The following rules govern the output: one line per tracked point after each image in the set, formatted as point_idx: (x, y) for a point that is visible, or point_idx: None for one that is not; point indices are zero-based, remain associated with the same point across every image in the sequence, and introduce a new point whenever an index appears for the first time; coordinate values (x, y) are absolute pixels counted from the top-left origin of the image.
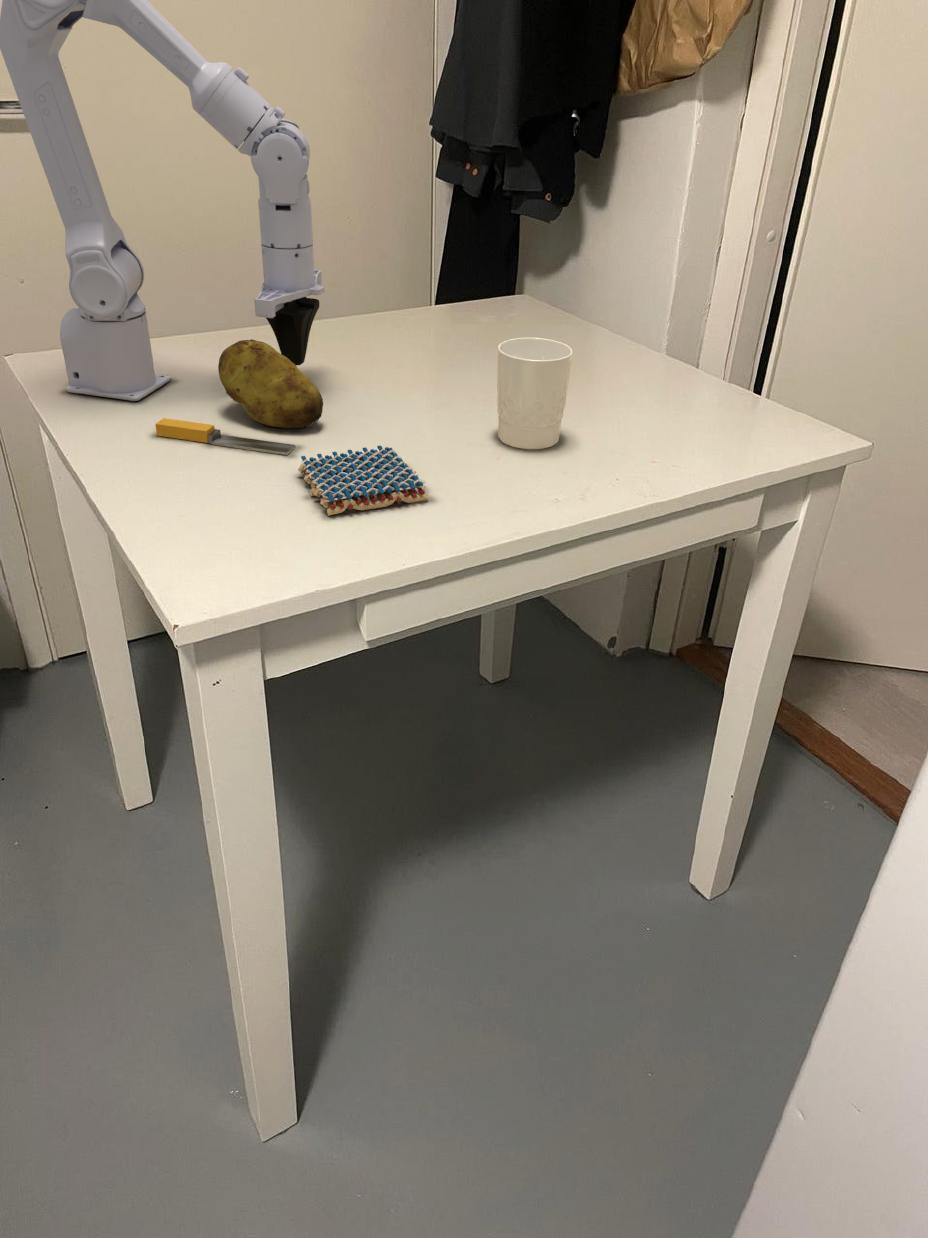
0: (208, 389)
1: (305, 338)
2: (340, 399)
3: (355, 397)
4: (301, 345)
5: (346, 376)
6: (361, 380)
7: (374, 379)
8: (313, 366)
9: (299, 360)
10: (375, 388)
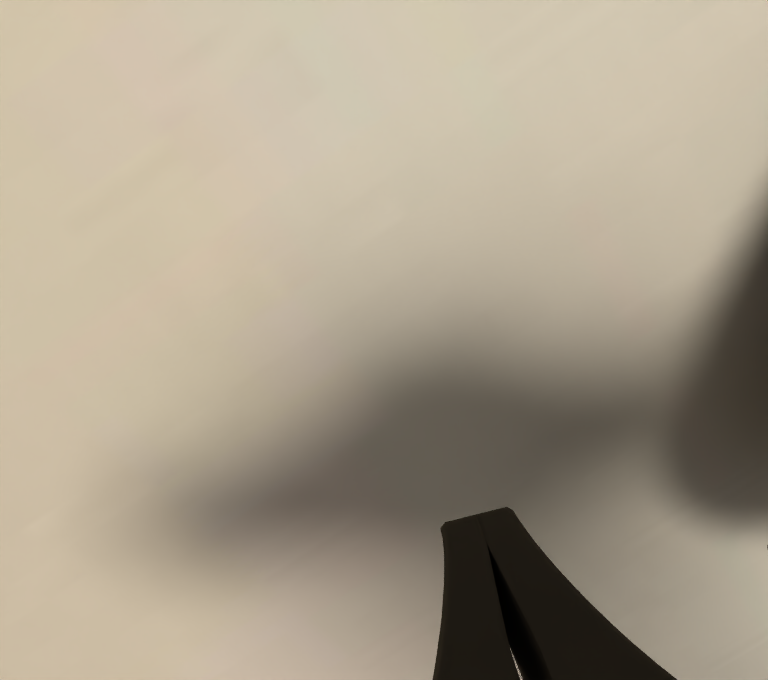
0: None
1: (506, 636)
2: (471, 175)
3: (392, 116)
4: (575, 590)
5: (124, 371)
6: (112, 264)
7: (32, 207)
8: (130, 570)
9: (521, 527)
10: (167, 99)
